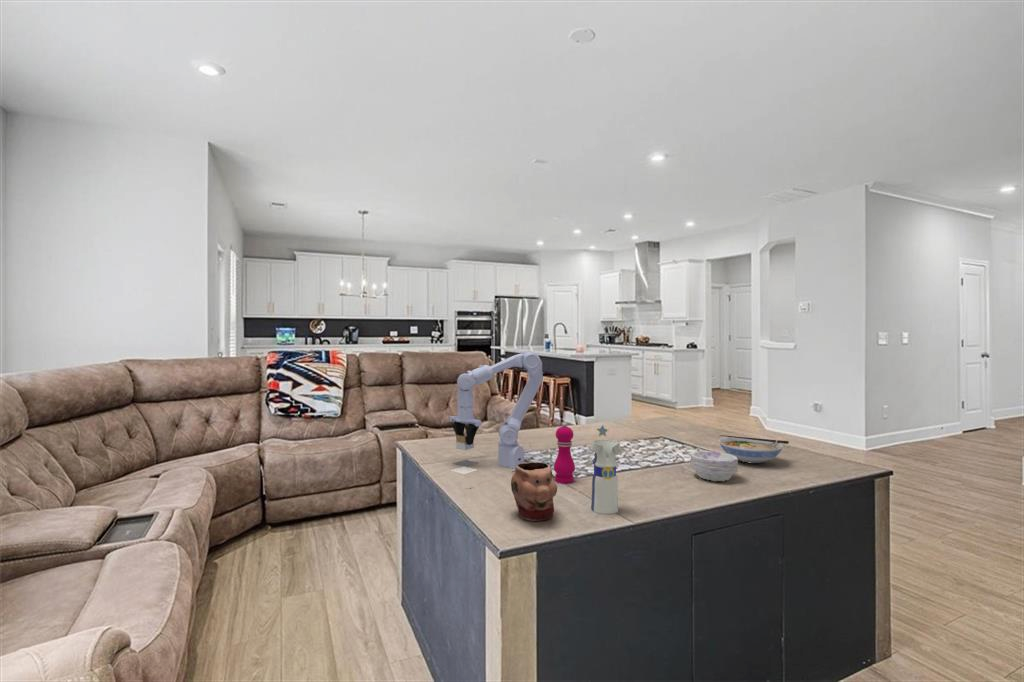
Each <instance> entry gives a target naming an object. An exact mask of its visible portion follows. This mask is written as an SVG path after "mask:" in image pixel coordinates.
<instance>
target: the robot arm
mask: <svg viewBox="0 0 1024 682" xmlns="http://www.w3.org/2000/svg"><path fill="white" fill-rule="evenodd" d="M514 367H516V368H523V369H524V370H525V371H526V375H527V376H528V377H527V378H528V380H527V381H526V384H525V385H524V387H523V390H522V391H521V393H520V395H519V397H518V399H517V401H516V403H515V405H514V407H513V409H512V411H511V412H510V415H509V416H508V417H507V418H506V420H505V422H504V423H503V424H501V425H500V426H499V428H498V436H499V437H500V439H499V441H498V445H497V449H498V450H497V451H498V452H497V453H498V455H497V458H498V459H497V462H498V463H497V464H498V466H499V467H503V468H509V469H515V468H516V466H517V465H518V464H521V463H525V448H524V447H523V446H521V445H519V443H518V439H519V438H518V437H519V431H520V429H521V426H522V422H523V420H524V418H525V416H526V414H527V412H528V410H529V408H530V406H531V404H532V403H533V401H534V399H535V397H536V395H537V392H538V390H539V389H540V386H541V385H542V383H543V380H544V376H543V362H542V360H541V358H540V356H539V355H538V354H537V353H535V352H532V351H524V352H522V353H518V354H515V355H513V356H510V357H507V358H505V359H503V360H501V361H499V362H497V363H494V364H492V365H487V364H484V365H483V364H480V365H478V367H477V368H475V369H472V370H467V373H461V374H459V376H458V377H457V379H456V384H457V386H458V388H457V407H456V408H457V412H456V413H457V415H450V416H449V422H450V423H451V422H452V424H451V427H452V429H453V431H454V434H455V436H456V435H458V434H462V433H466V434H467V444H468V445H471V444H473V441H474V439H475V437H476V434H477V431H478V430H479V428H480V427H481V426H482V420H480V419H477V418H474V394H473V393H474V392H473V387H474V386H478V385H480V384H483V383H485V382H488V381H490V380H492V379H493V377H494V375H495V374H498V373H501V372H503V371H505V370H508V369H511V368H514ZM474 442H475V441H474ZM513 472H514V473H515V470H513V471H511V473H513Z"/></svg>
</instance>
